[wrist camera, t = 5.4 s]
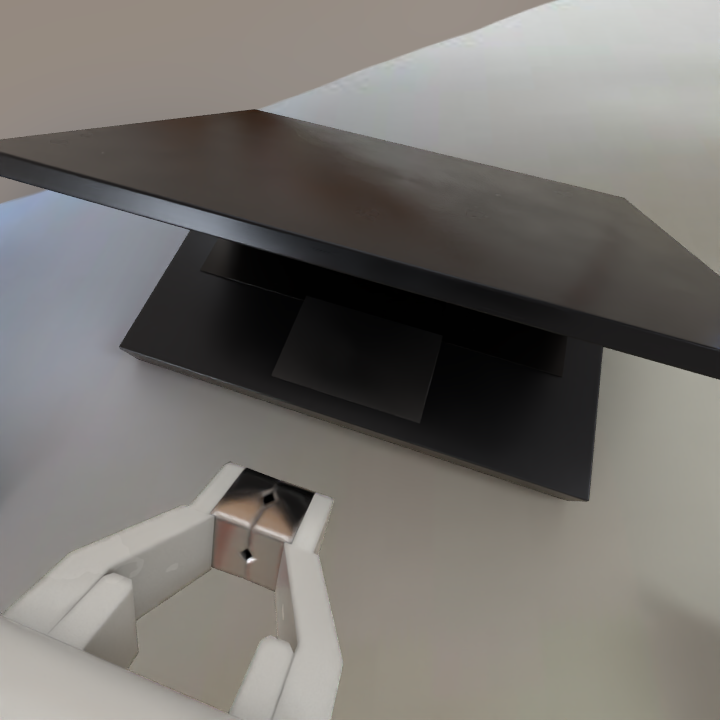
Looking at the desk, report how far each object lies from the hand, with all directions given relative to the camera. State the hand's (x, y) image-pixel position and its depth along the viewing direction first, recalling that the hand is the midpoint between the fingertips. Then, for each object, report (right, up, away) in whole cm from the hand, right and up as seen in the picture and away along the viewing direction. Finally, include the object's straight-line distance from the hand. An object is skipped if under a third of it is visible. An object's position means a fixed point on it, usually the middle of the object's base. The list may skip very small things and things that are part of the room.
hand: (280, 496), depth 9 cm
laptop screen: (+4, +11, +7) cm, 14 cm away
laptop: (+4, +8, +13) cm, 16 cm away
